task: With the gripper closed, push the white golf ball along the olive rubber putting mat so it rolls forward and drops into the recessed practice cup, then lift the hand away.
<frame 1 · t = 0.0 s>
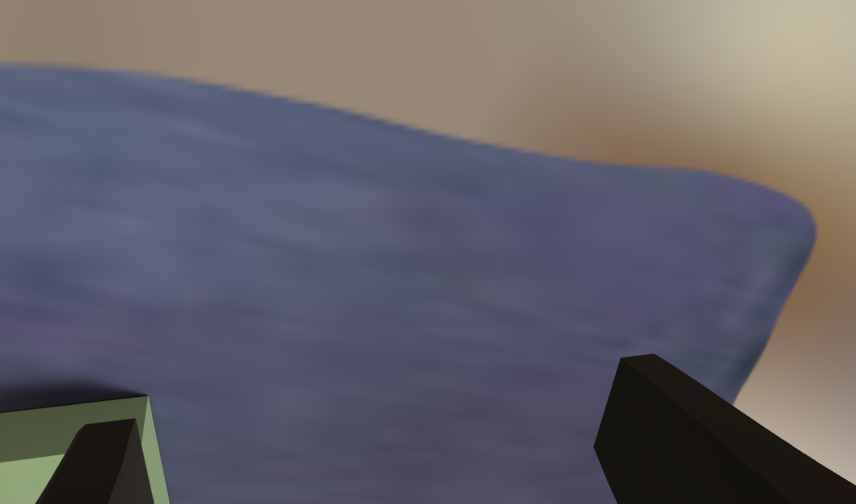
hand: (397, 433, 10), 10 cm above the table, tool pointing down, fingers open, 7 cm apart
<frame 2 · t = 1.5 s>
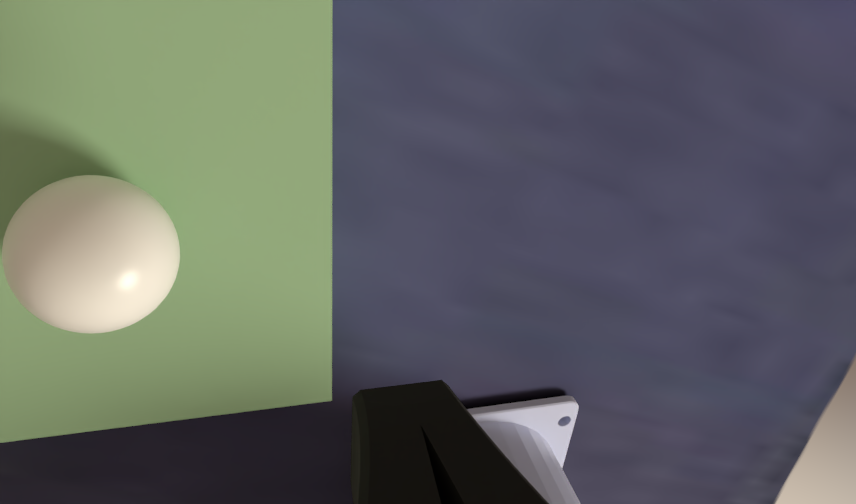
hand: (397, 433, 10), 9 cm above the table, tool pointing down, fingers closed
ball: (107, 216, 15), point 2 cm above the table, touching putting mat
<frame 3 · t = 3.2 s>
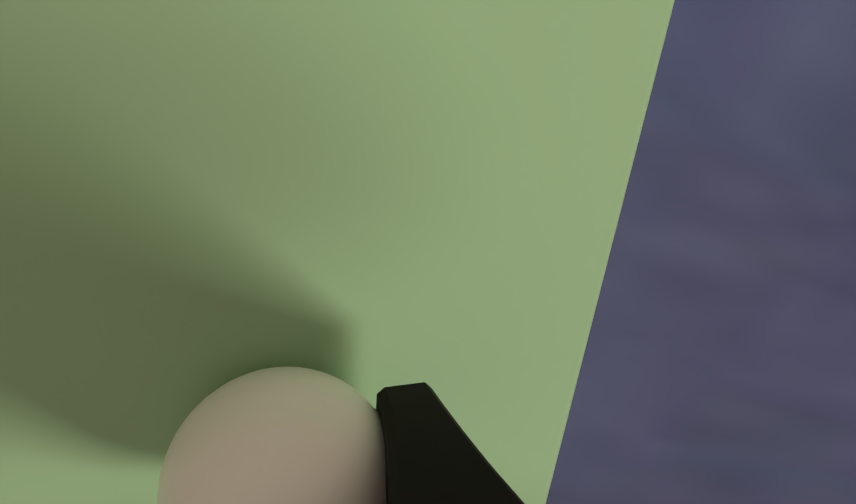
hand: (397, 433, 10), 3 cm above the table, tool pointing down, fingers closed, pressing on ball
putting mat: (40, 349, 11), on the table
ball: (294, 401, 10), point 2 cm above the table, tilted 10°, touching gripper, putting mat
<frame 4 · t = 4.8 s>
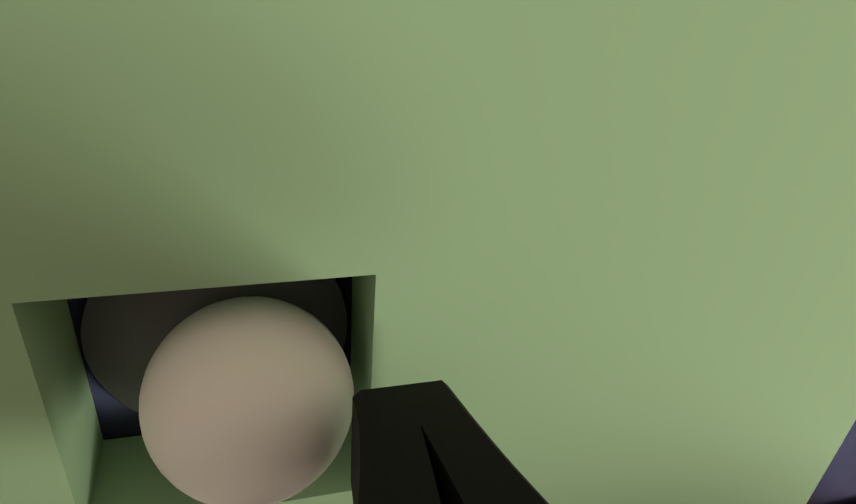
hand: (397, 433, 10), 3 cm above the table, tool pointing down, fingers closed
putting mat: (463, 307, 13), on the table
ball: (196, 349, 11), resting on putting mat, tilted 32°
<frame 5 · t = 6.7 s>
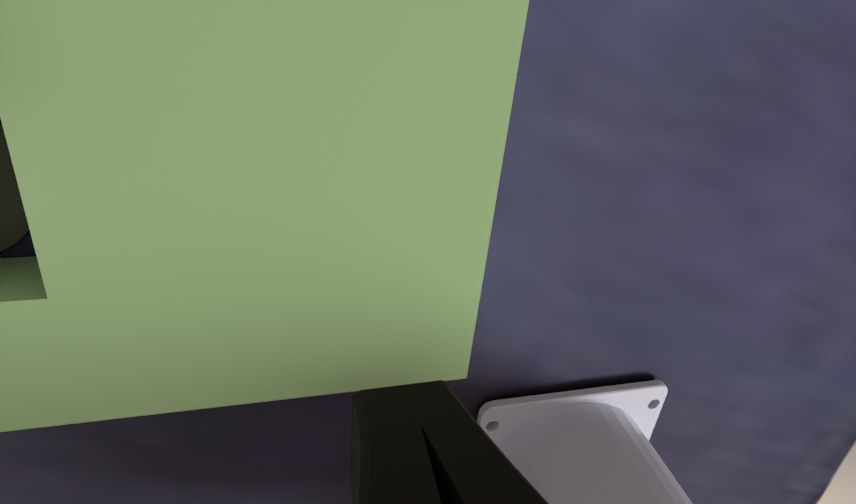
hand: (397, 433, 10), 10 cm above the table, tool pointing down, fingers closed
putting mat: (141, 173, 17), on the table
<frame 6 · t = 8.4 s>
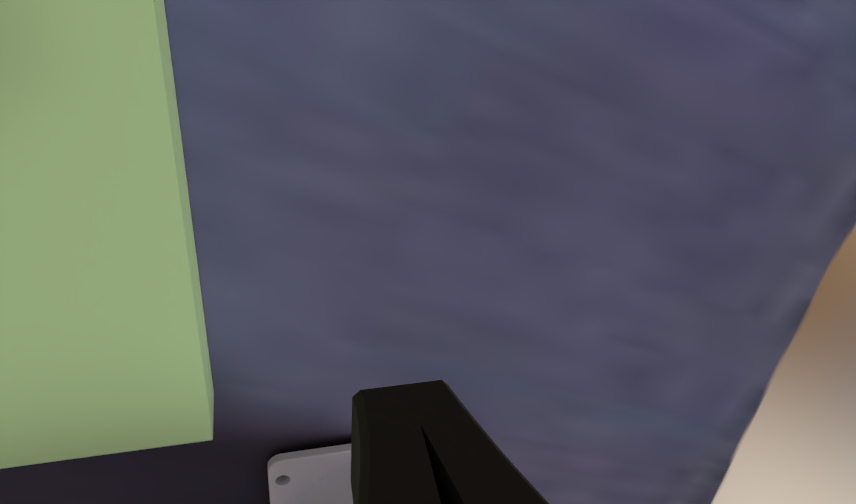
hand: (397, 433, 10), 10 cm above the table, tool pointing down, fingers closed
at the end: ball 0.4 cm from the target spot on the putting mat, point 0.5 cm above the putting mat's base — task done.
